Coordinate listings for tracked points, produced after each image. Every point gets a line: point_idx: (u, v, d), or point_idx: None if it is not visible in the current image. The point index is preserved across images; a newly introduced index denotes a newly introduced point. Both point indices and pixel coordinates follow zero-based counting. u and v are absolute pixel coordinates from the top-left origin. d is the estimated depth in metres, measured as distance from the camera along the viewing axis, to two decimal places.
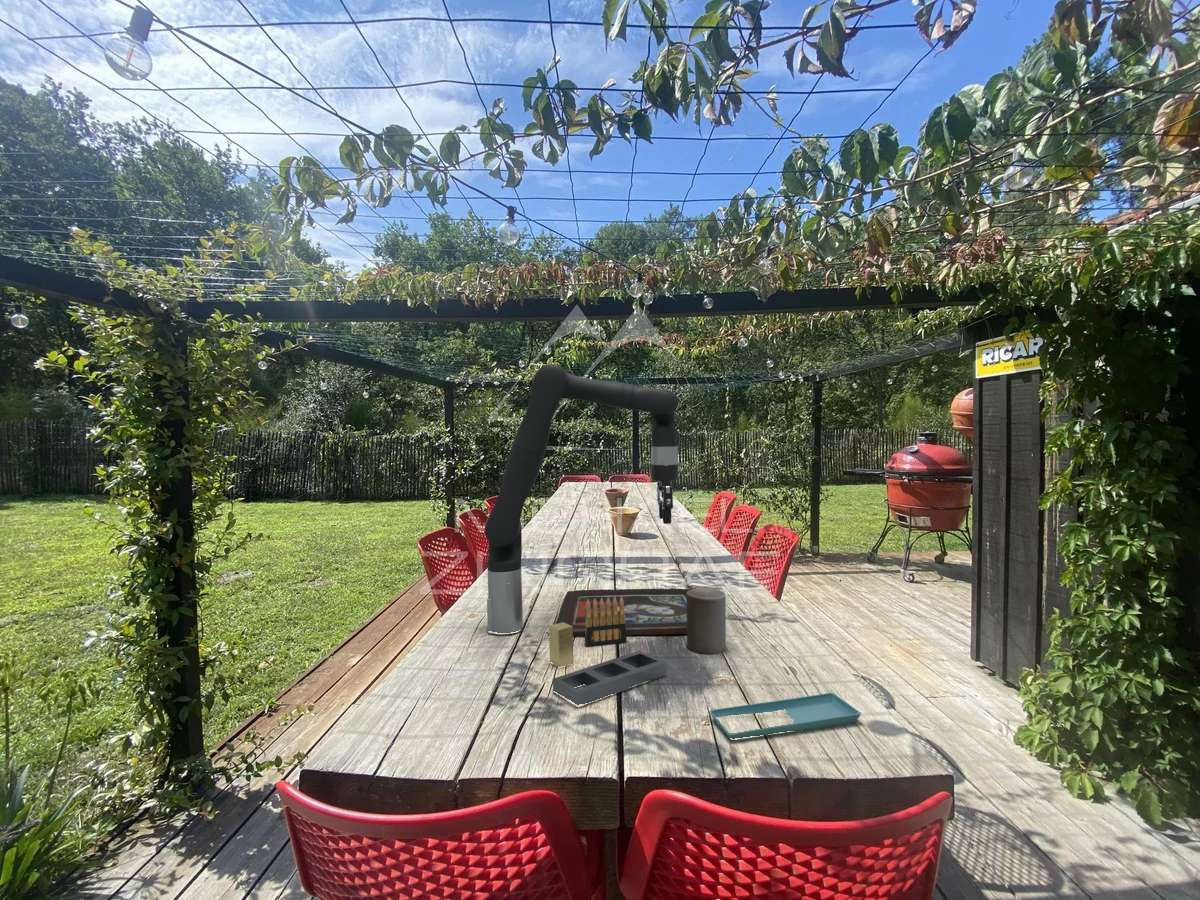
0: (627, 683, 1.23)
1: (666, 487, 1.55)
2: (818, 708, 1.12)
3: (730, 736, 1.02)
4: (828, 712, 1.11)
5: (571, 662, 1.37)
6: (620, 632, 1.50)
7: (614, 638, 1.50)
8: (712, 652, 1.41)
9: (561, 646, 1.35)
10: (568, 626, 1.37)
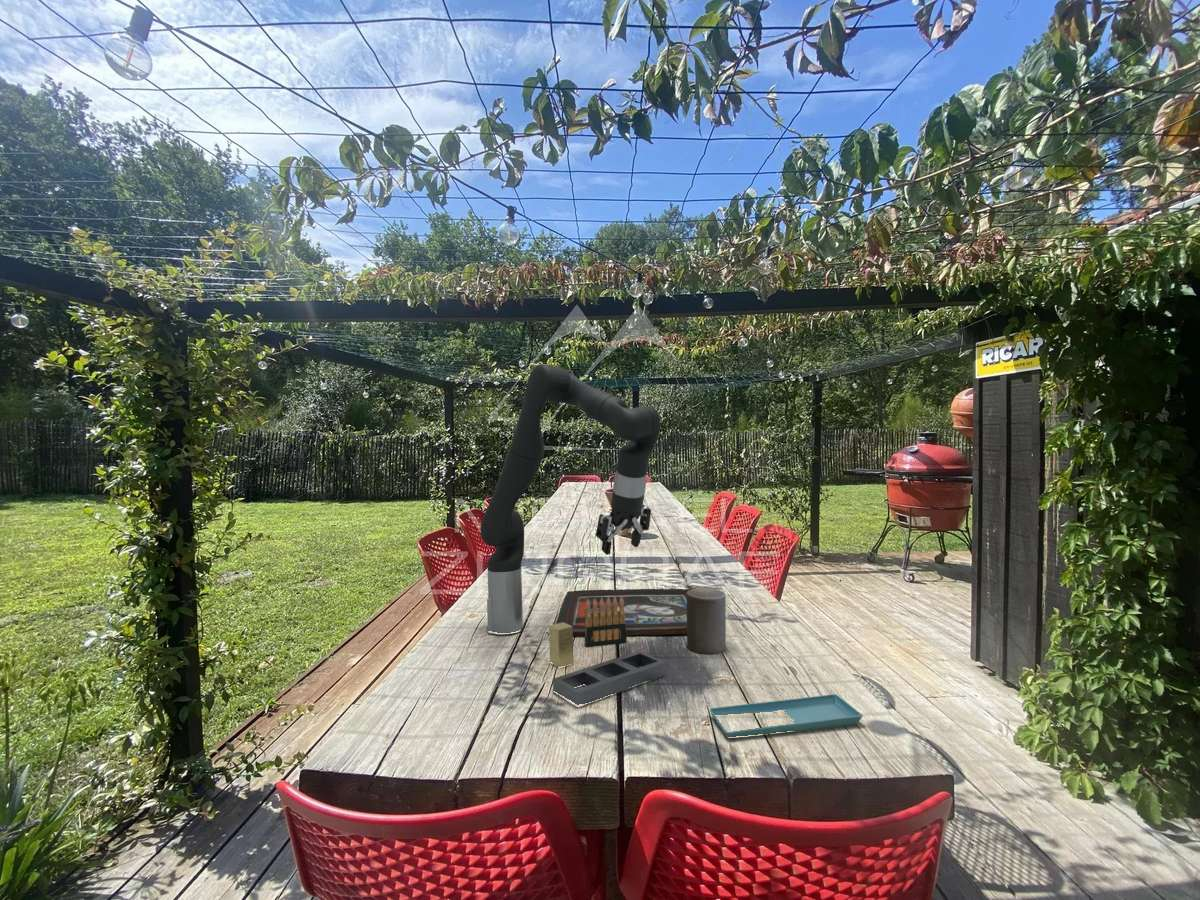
0: (627, 683, 1.23)
1: (601, 517, 1.35)
2: (820, 709, 1.12)
3: (727, 734, 1.02)
4: (830, 713, 1.10)
5: (571, 662, 1.37)
6: (620, 632, 1.50)
7: (614, 638, 1.50)
8: (712, 652, 1.41)
9: (561, 646, 1.35)
10: (568, 626, 1.37)
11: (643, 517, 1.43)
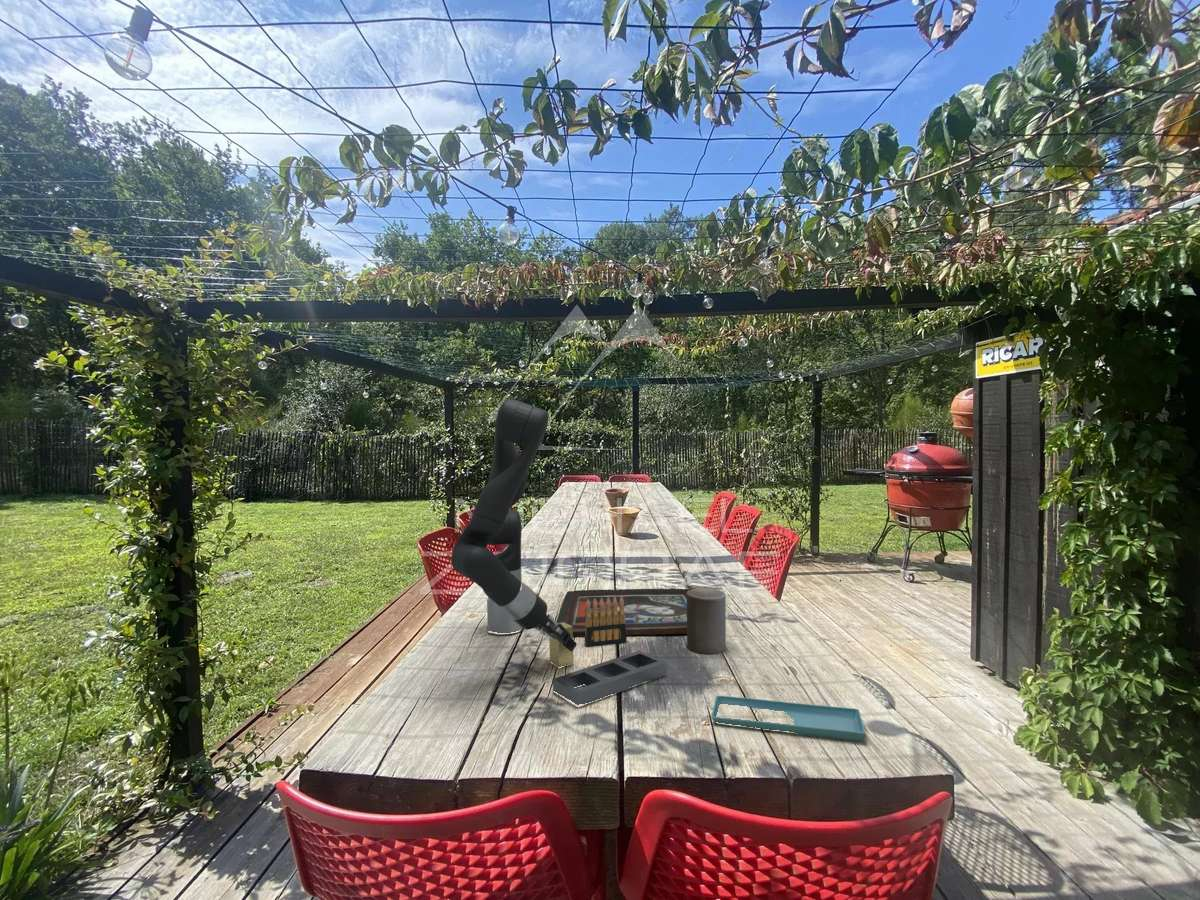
0: (627, 683, 1.23)
1: None
2: (834, 720, 1.08)
3: (713, 719, 1.08)
4: (839, 725, 1.06)
5: (571, 662, 1.37)
6: (620, 632, 1.50)
7: (614, 638, 1.50)
8: (712, 652, 1.41)
9: (561, 646, 1.35)
10: (568, 626, 1.37)
11: None
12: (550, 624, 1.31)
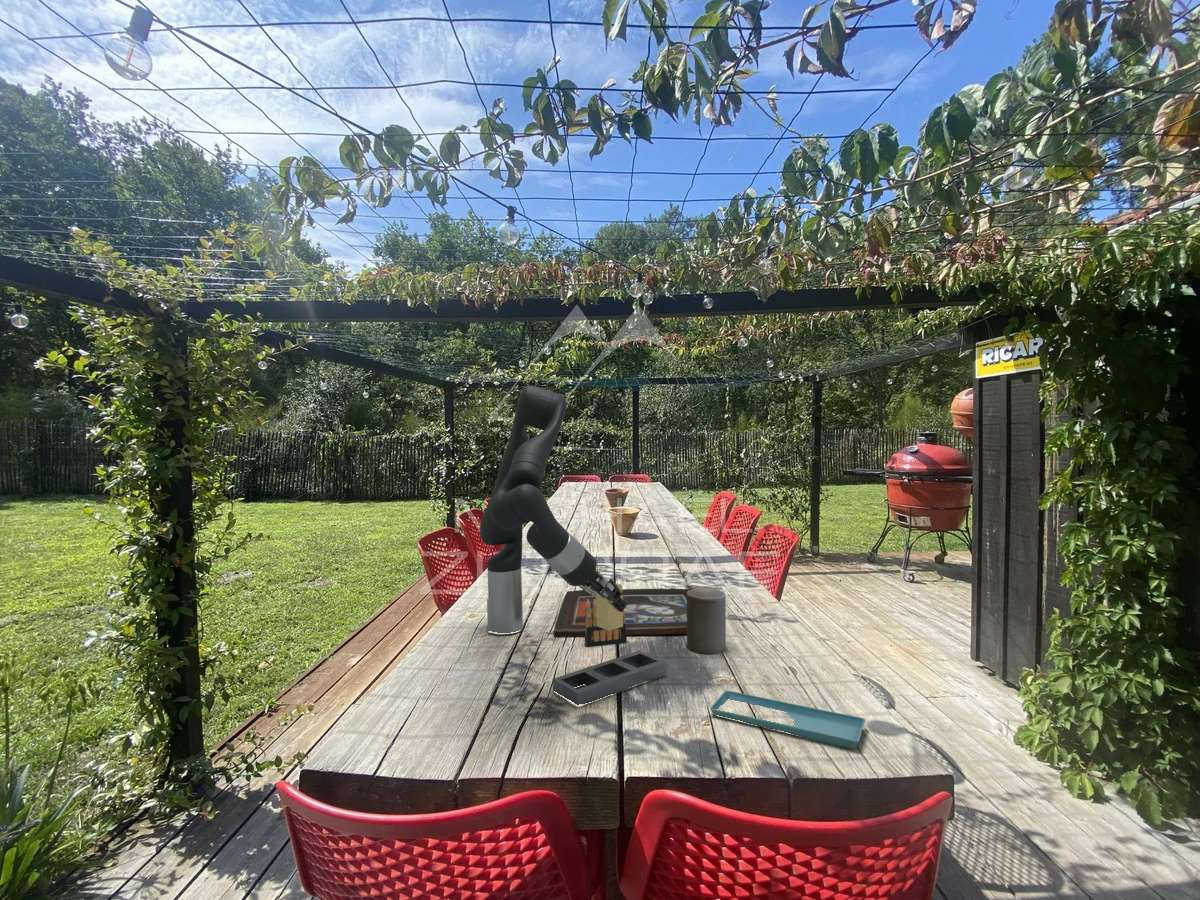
0: (627, 683, 1.23)
1: None
2: (837, 726, 1.05)
3: None
4: (839, 732, 1.03)
5: (620, 624, 1.25)
6: (620, 632, 1.50)
7: (614, 638, 1.50)
8: (712, 652, 1.41)
9: (610, 606, 1.23)
10: (617, 585, 1.25)
11: None
12: (600, 580, 1.19)
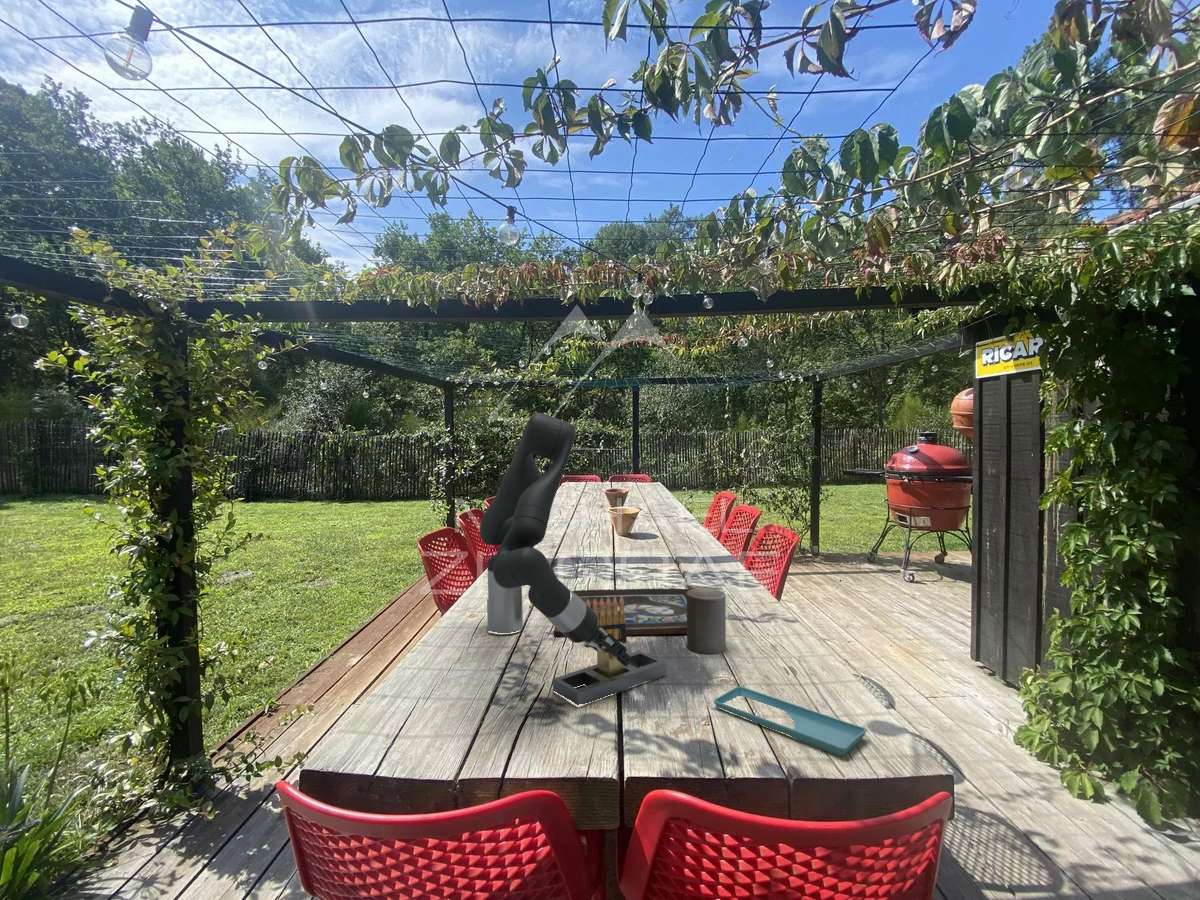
0: (627, 683, 1.23)
1: None
2: (836, 733, 1.03)
3: None
4: (835, 739, 1.01)
5: None
6: (620, 632, 1.50)
7: None
8: (712, 652, 1.41)
9: (611, 665, 1.24)
10: None
11: None
12: (600, 635, 1.19)
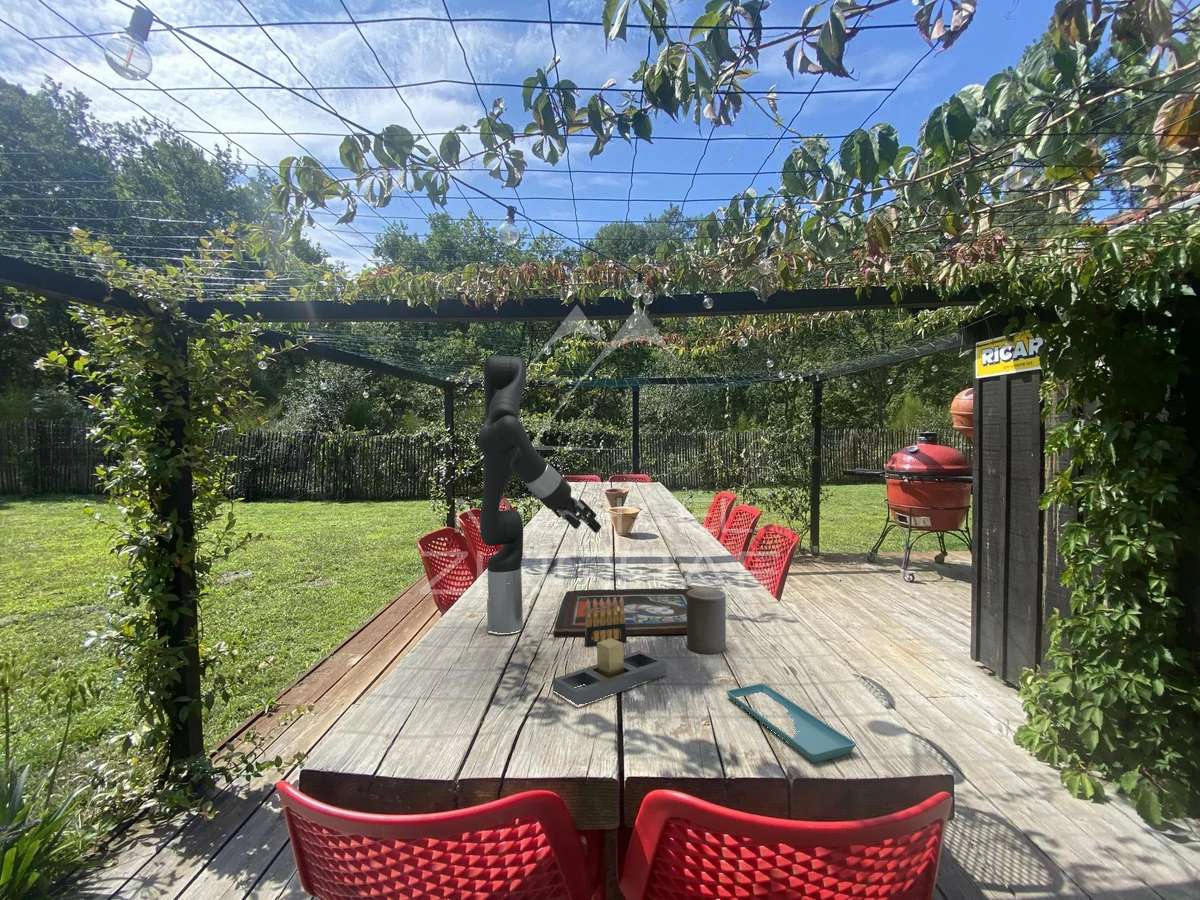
0: (627, 683, 1.23)
1: None
2: (827, 742, 1.00)
3: (727, 693, 1.18)
4: (821, 747, 0.99)
5: None
6: (620, 632, 1.50)
7: (614, 638, 1.50)
8: (712, 652, 1.41)
9: (611, 665, 1.24)
10: (618, 643, 1.26)
11: None
12: (573, 502, 1.37)
